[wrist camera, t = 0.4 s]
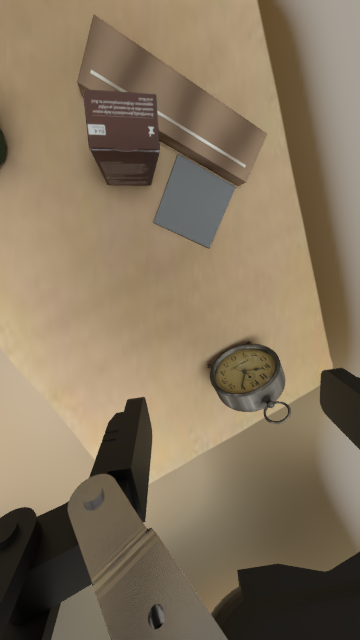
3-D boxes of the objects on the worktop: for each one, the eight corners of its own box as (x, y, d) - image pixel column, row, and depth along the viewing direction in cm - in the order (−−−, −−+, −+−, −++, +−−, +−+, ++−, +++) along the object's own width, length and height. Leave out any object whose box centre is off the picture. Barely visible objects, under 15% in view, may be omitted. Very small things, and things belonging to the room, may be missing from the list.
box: (149, 146, 30) (158, 91, 19) (151, 186, 31) (161, 157, 20) (100, 144, 29) (80, 85, 18) (105, 185, 30) (89, 154, 19)
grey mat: (153, 222, 33) (153, 222, 32) (177, 155, 31) (178, 154, 30) (208, 248, 36) (209, 248, 35) (233, 187, 33) (235, 187, 33)
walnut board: (82, 95, 27) (77, 81, 25) (97, 34, 26) (93, 13, 23) (238, 185, 33) (246, 181, 31) (257, 141, 32) (267, 133, 30)
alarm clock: (252, 332, 42) (318, 384, 27) (261, 355, 44) (327, 415, 29) (199, 361, 42) (236, 429, 27) (210, 382, 44) (251, 457, 29)
